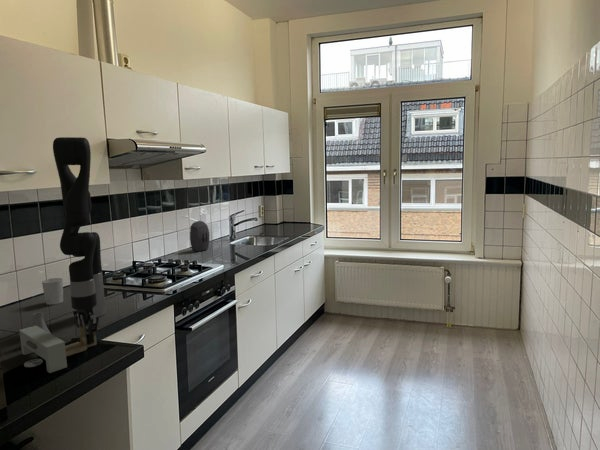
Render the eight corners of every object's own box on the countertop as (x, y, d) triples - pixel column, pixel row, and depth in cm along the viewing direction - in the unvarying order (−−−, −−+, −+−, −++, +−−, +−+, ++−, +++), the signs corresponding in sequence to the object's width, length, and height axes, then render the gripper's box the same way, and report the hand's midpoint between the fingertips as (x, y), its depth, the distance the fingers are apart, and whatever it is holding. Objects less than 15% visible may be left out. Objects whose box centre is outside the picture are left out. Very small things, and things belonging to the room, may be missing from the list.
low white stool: (19, 354, 149) (16, 330, 148) (38, 348, 153) (36, 325, 152) (46, 374, 135) (43, 348, 134) (67, 367, 139) (64, 341, 138)
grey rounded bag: (204, 248, 314) (202, 218, 311) (213, 249, 310) (212, 219, 307) (188, 252, 301) (186, 222, 298) (198, 253, 297) (196, 222, 294)
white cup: (54, 306, 198) (51, 283, 196) (40, 304, 200) (37, 282, 199) (68, 300, 205) (66, 278, 203) (55, 299, 207) (52, 277, 206)
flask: (56, 336, 163) (53, 309, 162) (46, 345, 156) (43, 316, 155) (36, 337, 163) (32, 310, 162) (24, 346, 156) (21, 317, 154)
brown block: (52, 353, 149) (49, 332, 148) (90, 341, 158) (88, 321, 157) (60, 358, 145) (57, 337, 144) (98, 345, 155) (97, 325, 154)
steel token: (21, 365, 142) (21, 362, 142) (39, 359, 146) (38, 357, 146) (27, 369, 139) (27, 367, 139) (45, 364, 142) (45, 361, 142)
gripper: (104, 293, 150) (109, 344, 153) (84, 286, 159) (89, 334, 162) (81, 299, 145) (86, 351, 147) (62, 291, 154) (67, 341, 157)
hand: (88, 342), depth 155 cm, fingers closed on brown block, 3 cm apart
